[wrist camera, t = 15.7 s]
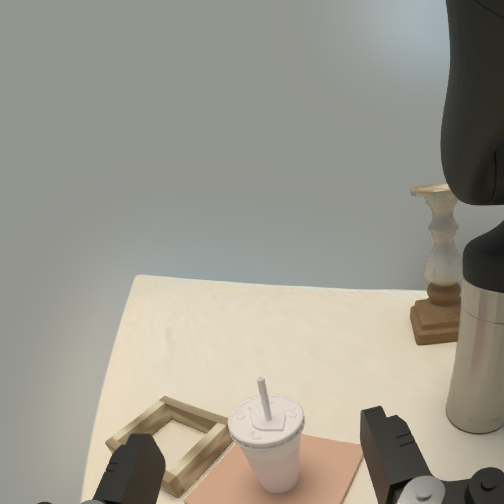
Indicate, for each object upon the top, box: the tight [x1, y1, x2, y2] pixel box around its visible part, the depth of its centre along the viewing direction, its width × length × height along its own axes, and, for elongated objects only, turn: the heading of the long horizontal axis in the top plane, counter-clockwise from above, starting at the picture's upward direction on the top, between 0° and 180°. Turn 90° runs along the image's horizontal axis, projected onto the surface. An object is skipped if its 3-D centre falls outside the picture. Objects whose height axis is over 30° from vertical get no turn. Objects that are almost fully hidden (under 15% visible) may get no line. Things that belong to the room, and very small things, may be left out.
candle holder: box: [410, 184, 463, 345], centre depth 46 cm, size 11×11×24 cm
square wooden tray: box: [105, 396, 233, 498], centre depth 33 cm, size 11×11×3 cm
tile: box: [184, 434, 364, 504], centre depth 27 cm, size 14×14×1 cm
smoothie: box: [228, 377, 305, 494], centre depth 25 cm, size 6×6×14 cm
